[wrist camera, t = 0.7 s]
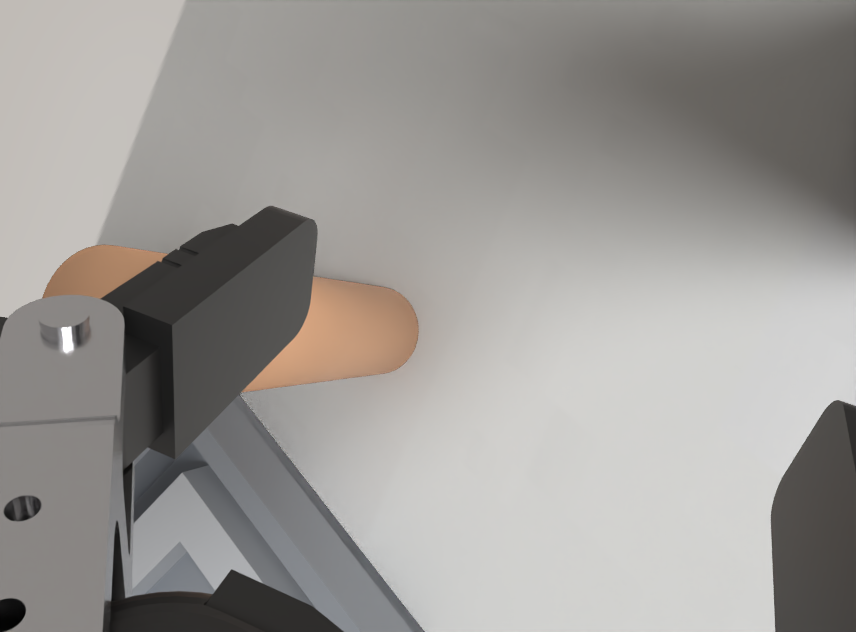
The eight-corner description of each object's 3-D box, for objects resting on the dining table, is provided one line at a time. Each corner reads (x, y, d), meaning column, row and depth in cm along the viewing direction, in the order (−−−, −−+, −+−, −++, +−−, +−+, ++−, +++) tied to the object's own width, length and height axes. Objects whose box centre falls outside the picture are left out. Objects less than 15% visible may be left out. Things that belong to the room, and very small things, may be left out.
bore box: (230, 383, 37) (177, 388, 33) (427, 635, 33) (393, 674, 29) (43, 581, 40) (-23, 607, 36) (203, 829, 36) (147, 886, 33)
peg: (379, 268, 34) (105, 210, 18) (435, 332, 33) (199, 330, 17) (322, 328, 35) (12, 324, 19) (375, 392, 34) (97, 444, 18)
